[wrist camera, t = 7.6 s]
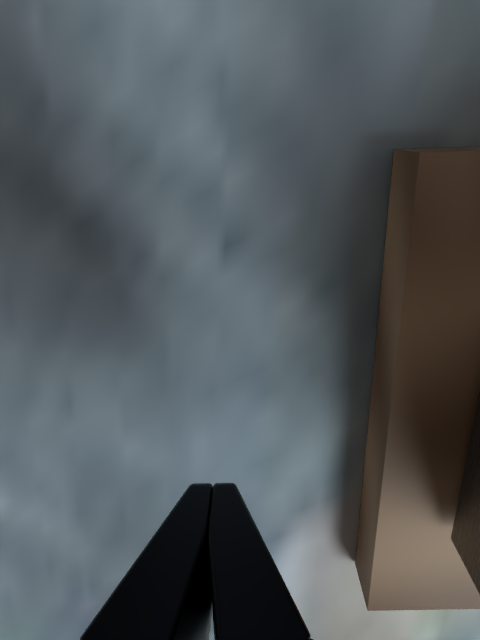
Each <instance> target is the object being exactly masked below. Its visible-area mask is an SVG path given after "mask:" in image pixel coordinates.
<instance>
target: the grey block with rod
mask: <svg viewBox="0 0 480 640" xmlns="http://www.w3.org/2000/svg"><path fill="white" fill-rule="evenodd" d="M451 540H452V542H453V544H454V546H455V548H456V550H457V552H458V553H459V555H460V557H461V559H462V561H463V563H464V565H465V567H466V569H467V571H468V573H469V575H470V577H471V579H472V581H473V583H474V585H475V587H476V588H477V590H478V592H479V594H480V392H479V397H478V402H477V407H476V413H475V418H474V423H473V428H472V433H471V438H470V443H469V448H468V453H467V458H466V463H465V468H464V473H463V478H462V483H461V489H460V494H459V499H458V504H457V509H456V514H455V519H454V524H453V529H452V534H451Z"/></svg>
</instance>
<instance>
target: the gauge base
mask: <svg viewBox="0 0 480 640" xmlns="http://www.w3.org/2000/svg"><path fill="white" fill-rule="evenodd" d="M479 392H480V147H456V148H423V149H394V154H393V165H392V175H391V186H390V197H389V207H388V218H387V229H386V240H385V250H384V261H383V272H382V282H381V293H380V304H379V314H378V325H377V336H376V347H375V357H374V368H373V379H372V389H371V400H370V411H369V422H368V432H367V443H366V454H365V464H364V475H363V486H362V497H361V507H360V518H359V529H358V539H357V550H356V561H355V565H356V568H357V572H358V576H359V580H360V584H361V587H362V591H363V595H364V599H365V603H366V606H367V610H368V611H374V610H435V609H480V594H479V592H478V590H477V588H476V587H475V585H474V583H473V581H472V579H471V577H470V575H469V573H468V571H467V569H466V567H465V565H464V563H463V561H462V559H461V557H460V555H459V553H458V552H457V550H456V548H455V546H454V544H453V542H452V540H451V534H452V529H453V524H454V519H455V514H456V509H457V504H458V499H459V494H460V489H461V483H462V478H463V473H464V468H465V463H466V458H467V453H468V448H469V443H470V438H471V433H472V428H473V423H474V418H475V413H476V407H477V402H478V397H479Z"/></svg>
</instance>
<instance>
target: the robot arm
mask: <svg viewBox="0 0 480 640" xmlns="http://www.w3.org/2000/svg"><path fill="white" fill-rule="evenodd" d="M212 610H213V623H214V636H215V640H313V639H310V637H311V636H310V633H309V631H308V629H307V627H306V625H305V623H304V621H303V619H302V617H301V615H300V613H299V611H298V609H297V607H296V605H295V603H294V601H293V599H292V597H291V595H290V593H289V591H288V589H287V587H286V585H285V583H284V581H283V579H282V577H281V575H280V573H279V571H278V569H277V567H276V565H275V563H274V560H273V558H272V556H271V554H270V552H269V550H268V548H267V546H266V544H265V542H264V540H263V538H262V536H261V534H260V532H259V530H258V528H257V526H256V524H255V522H254V520H253V518H252V516H251V514H250V512H249V510H248V508H247V506H246V504H245V502H244V500H243V498H242V496H241V494H240V492H239V490H238V488H237V486H236V485H235V484H234V483H216V484H214V486H212V485H211V484H210V483H201V484H191V485H190V486H189V487H188V489H187V490H186V491H185V493H184V494H183V496H182V497H181V498H180V500H179V501H178V503H177V504H176V505H175V507H174V508H173V509H172V511H171V512H170V514H169V515H168V516H167V518H166V519H165V521H164V522H163V523H162V525H161V526H160V528H159V529H158V530H157V532H156V533H155V535H154V536H153V537H152V539H151V540H150V541H149V543H148V544H147V546H146V547H145V548H144V550H143V551H142V553H141V554H140V555H139V557H138V558H137V560H136V561H135V562H134V564H133V565H132V567H131V568H130V569H129V571H128V572H127V574H126V575H125V576H124V578H123V579H122V580H121V582H120V583H119V585H118V586H117V587H116V589H115V590H114V592H113V593H112V594H111V596H110V597H109V599H108V600H107V601H106V603H105V604H104V606H103V607H102V608H101V610H100V611H99V612H98V614H97V615H96V617H95V618H94V619H93V621H92V622H91V624H90V625H89V626H88V628H87V629H86V631H85V632H84V633H83V635H82V636H81V638H80V640H208V639H209V632H210V625H211V616H212Z"/></svg>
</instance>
